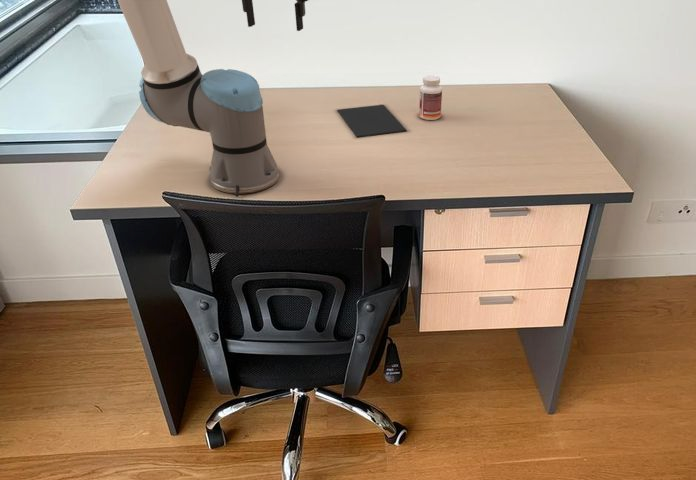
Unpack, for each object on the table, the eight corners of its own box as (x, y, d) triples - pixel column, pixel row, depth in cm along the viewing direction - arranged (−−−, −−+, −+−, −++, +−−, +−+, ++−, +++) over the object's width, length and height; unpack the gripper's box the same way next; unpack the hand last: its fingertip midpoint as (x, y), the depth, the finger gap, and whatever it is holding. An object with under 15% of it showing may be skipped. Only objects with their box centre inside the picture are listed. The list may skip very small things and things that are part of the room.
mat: (406, 131, 158) (406, 129, 158) (356, 137, 154) (356, 136, 154) (383, 105, 173) (383, 104, 173) (337, 110, 170) (337, 109, 169)
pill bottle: (445, 117, 167) (447, 78, 161) (430, 122, 164) (432, 83, 157) (429, 111, 171) (431, 72, 164) (414, 116, 167) (415, 77, 161)
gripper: (320, -65, 142) (325, 27, 155) (225, -70, 146) (238, 20, 159) (309, -61, 136) (315, 34, 149) (211, -67, 141) (225, 27, 153)
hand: (275, 27), depth 154 cm, fingers open, 13 cm apart
